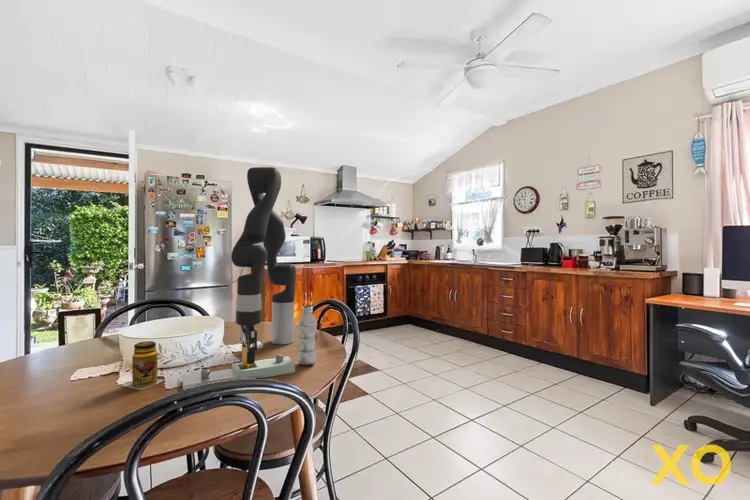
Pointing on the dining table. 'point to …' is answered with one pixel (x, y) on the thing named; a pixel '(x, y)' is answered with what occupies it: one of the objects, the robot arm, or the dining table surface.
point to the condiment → (144, 366)
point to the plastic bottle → (307, 337)
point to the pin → (245, 359)
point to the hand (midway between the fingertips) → (248, 359)
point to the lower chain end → (212, 377)
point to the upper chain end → (267, 367)
